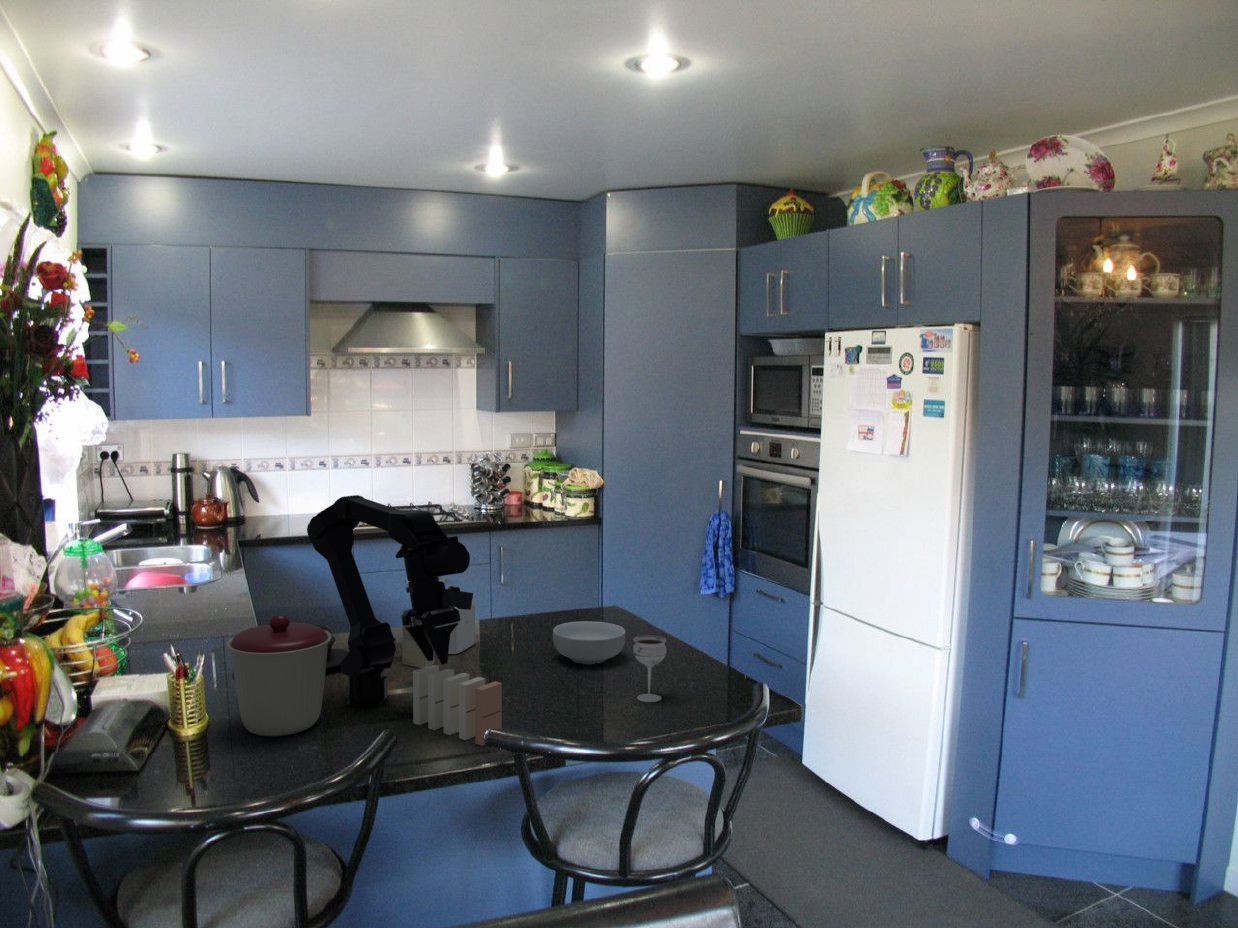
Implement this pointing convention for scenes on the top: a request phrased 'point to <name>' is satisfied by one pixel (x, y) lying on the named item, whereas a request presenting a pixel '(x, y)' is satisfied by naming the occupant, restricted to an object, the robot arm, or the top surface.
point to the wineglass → (649, 658)
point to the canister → (279, 675)
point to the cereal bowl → (589, 641)
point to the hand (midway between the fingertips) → (437, 662)
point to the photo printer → (463, 631)
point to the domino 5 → (487, 709)
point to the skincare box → (412, 652)
